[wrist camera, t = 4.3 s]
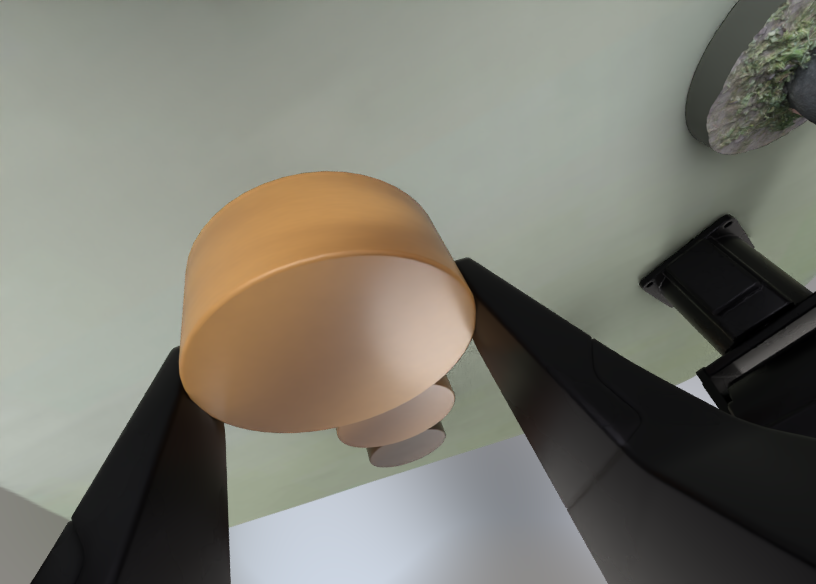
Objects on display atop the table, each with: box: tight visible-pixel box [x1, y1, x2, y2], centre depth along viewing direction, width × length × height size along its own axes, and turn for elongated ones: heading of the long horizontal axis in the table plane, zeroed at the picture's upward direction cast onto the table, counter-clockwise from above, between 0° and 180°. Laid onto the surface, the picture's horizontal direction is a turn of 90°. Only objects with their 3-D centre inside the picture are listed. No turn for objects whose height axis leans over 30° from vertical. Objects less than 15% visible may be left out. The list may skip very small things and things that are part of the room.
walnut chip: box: [367, 421, 446, 467], centre depth 31 cm, size 6×6×2 cm
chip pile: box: [336, 375, 455, 448], centre depth 21 cm, size 6×6×5 cm
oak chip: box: [179, 171, 476, 433], centre depth 9 cm, size 6×6×2 cm
